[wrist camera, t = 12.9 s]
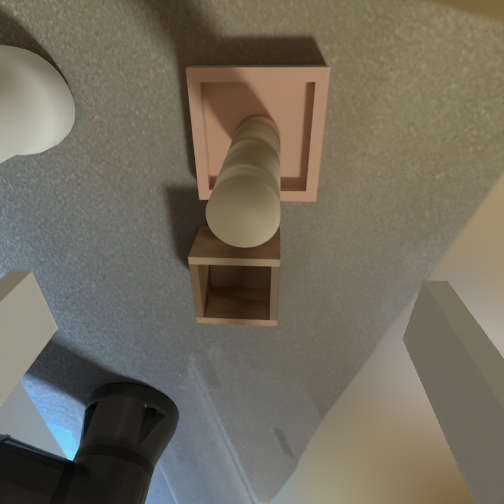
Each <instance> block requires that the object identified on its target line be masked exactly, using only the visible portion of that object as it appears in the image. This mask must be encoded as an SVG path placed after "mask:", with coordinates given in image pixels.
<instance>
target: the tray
mask: <svg viewBox="0 0 504 504" xmlns="http://www.w3.org/2000/svg"><path fill="white" fill-rule="evenodd" d="M330 68H331V67H330V66H328V65H191V66H189V67H186V76H187V86H188V95H189V105H190V114H191V124H192V133H193V143H194V153H195V162H196V172H197V181H198V191H199V200H209V198H210V195H211V193H212V190H213V188H214V185H215V183H216V180H217V178H218V175H219V173H220V170H221V167H222V165H223V162H224V160H225V157H226V155H227V152H228V150H229V147H230V145H231V142H232V139H233V137H234V134H235V132H236V129H237V127H238V125H239V124H240V123H241V121H242V120H244V119H245V118H246V117H248V116H251V115H264V116H267V117H269V118H270V119H272V120H273V121H274V122H275V123H276V125H277V126H278V129H279V131H280V201H304V202H316V196H317V187H318V178H319V169H320V160H321V150H322V141H323V132H324V123H325V114H326V104H327V95H328V86H329V77H330Z"/></svg>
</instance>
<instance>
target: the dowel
mask: <svg viewBox="0 0 504 504" xmlns="http://www.w3.org/2000/svg"><path fill="white" fill-rule="evenodd" d="M206 219H207V223H208V225H209V227H210V229H211V231H212V232H213V233H214V234H215V235H216V236H217V237H218V238H219V239H220V240H222V241H223V242H225V243H227V244H229V245H232V246H236V247H243V248H244V247H254V246H258V245H260V244H263V243H265V242H266V241H268V240H269V239H270V238H271V237H272V236H273V235H274V234H275V232H276V231H277V229H278V226H279V223H280V131H279V129H278V126H277V125H276V123H275V122H274V121H273V120H272V119H270V118H269V117H267V116H264V115H251V116H248V117H246V118H245V119H244V120H242V121H241V123H240V124H239V125H238V127H237V129H236V132H235V134H234V137H233V139H232V142H231V145H230V147H229V150H228V152H227V155H226V157H225V160H224V162H223V165H222V167H221V170H220V173H219V175H218V178H217V180H216V183H215V185H214V188H213V190H212V193H211V195H210V198H209V200H208V203H207V207H206Z"/></svg>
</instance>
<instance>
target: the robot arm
mask: <svg viewBox="0 0 504 504" xmlns="http://www.w3.org/2000/svg"><path fill="white" fill-rule="evenodd" d="M57 329H58V327H57V325H56V323H55V320H54V318H53V316H52V314H51V312H50V309H49V307H48V305H47V303H46V301H45V299H44V296H43V294H42V292H41V290H40V288H39V285H38V283H37V281H36V279H35V277H34V275H33V272H32V271H11V270H10V271H9V272H8V273H7V274H6V275H5V276H4V277H2V278H1V279H0V407H1V405H2V404H3V403H4V401H5V400H6V399H7V397H8V396H9V394H10V393H11V392H12V390H13V389H14V388H15V386H16V385H17V384H18V382H19V381H20V380H21V378H22V377H23V376H24V374H25V373H26V371H27V370H28V369H29V367H30V366H31V365H32V363H33V362H34V361H35V359H36V358H37V357H38V355H39V354H40V352H41V351H42V350H43V348H44V347H45V346H46V344H47V343H48V342H49V340H50V339H51V337H52V336H53V335H54V333H55V332H56V331H57ZM403 341H404V343H405V346H406V348H407V350H408V352H409V355H410V357H411V360H412V362H413V364H414V366H415V369H416V371H417V373H418V376H419V378H420V380H421V382H422V385H423V387H424V389H425V392H426V394H427V396H428V398H429V401H430V403H431V405H432V408H433V410H434V412H435V414H436V417H437V419H438V421H439V424H440V426H441V428H442V431H443V433H444V435H445V437H446V440H447V442H448V444H449V447H450V449H451V451H452V453H453V456H454V458H455V460H456V462H457V465H458V467H459V470H460V472H461V474H462V476H463V479H464V481H465V483H466V486H467V488H468V490H469V492H470V495H471V497H472V499H473V501H474V504H504V358H503V357H502V356H501V354H500V353H499V351H498V350H497V349H496V347H495V346H494V345H493V343H492V342H491V340H490V339H489V338H488V336H487V335H486V334H485V332H484V331H483V329H482V328H481V327H480V325H479V324H478V323H477V321H476V320H475V318H474V317H473V316H472V314H471V313H470V312H469V310H468V309H467V307H466V306H465V305H464V303H463V302H462V300H461V299H460V298H459V296H458V295H457V294H456V292H455V291H454V290H453V288H452V287H451V285H450V284H449V283H448V281H428V280H423V282H422V285H421V288H420V291H419V294H418V297H417V300H416V302H415V305H414V308H413V311H412V314H411V317H410V320H409V323H408V326H407V328H406V331H405V334H404V337H403ZM178 419H179V412H178V409H177V407H176V406H175V404H174V403H173V402H172V401H171V400H170V399H169V398H167V397H166V396H164V395H163V394H161V393H159V392H157V391H155V390H153V389H151V388H148V387H145V386H141V385H136V384H129V383H115V384H109V385H105V386H102V387H100V388H99V389H97V390H96V391H95V392H94V393H93V394H92V396H91V398H90V400H89V402H88V404H87V406H86V409H85V414H84V420H83V426H82V433H81V439H80V446H79V449H78V451H77V453H76V455H75V457H74V460H73V461H71V460H68V459H66V458H63V457H61V456H58V455H55V454H52V453H50V452H47V451H44V450H42V449H39V448H36V447H34V446H31V445H29V444H26V443H24V442H21V441H18V440H16V439H14V438H11V436H10V435H2V434H0V504H145V500H146V497H147V493H148V489H149V485H150V482H151V478H152V474H153V471H154V468H155V465H156V463H157V461H158V460H159V458H160V456H161V455H162V453H163V451H164V450H165V448H166V446H167V445H168V443H169V442H170V440H171V438H172V437H173V435H174V433H175V430H176V427H177V423H178Z"/></svg>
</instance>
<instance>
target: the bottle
mask: <svg viewBox="0 0 504 504" xmlns="http://www.w3.org/2000/svg"><path fill="white" fill-rule="evenodd" d="M74 119H75V107H74V100H73V97H72V94H71V92H70V89H69V87H68V85H67V84H66V82H65V80H64V79H63V77H62V76H61V74H60V73H59V72H58V71H57V70H56V69H55V68H54V67H53V66H52V65H51V64H50V63H49V62H47V61H46V60H45V59H43V58H42V57H41V56H39V55H37V54H35V53H33V52H31V51H28V50H26V49H22V48H18V47H13V46H7V45H0V163H2V162H4V161H6V160H7V159H9V158H11V157H12V156H15V155H17V154H19V155H28V154H36V153H41V152H43V151H45V150H47V149H49V148H51V147H53V146H55V145H57V144H59V143H60V142H61V141H62V140H63V139H64V138H65V137H66V136H67V135H68V134H69V132H70V131H71V129H72V126H73V124H74Z"/></svg>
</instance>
